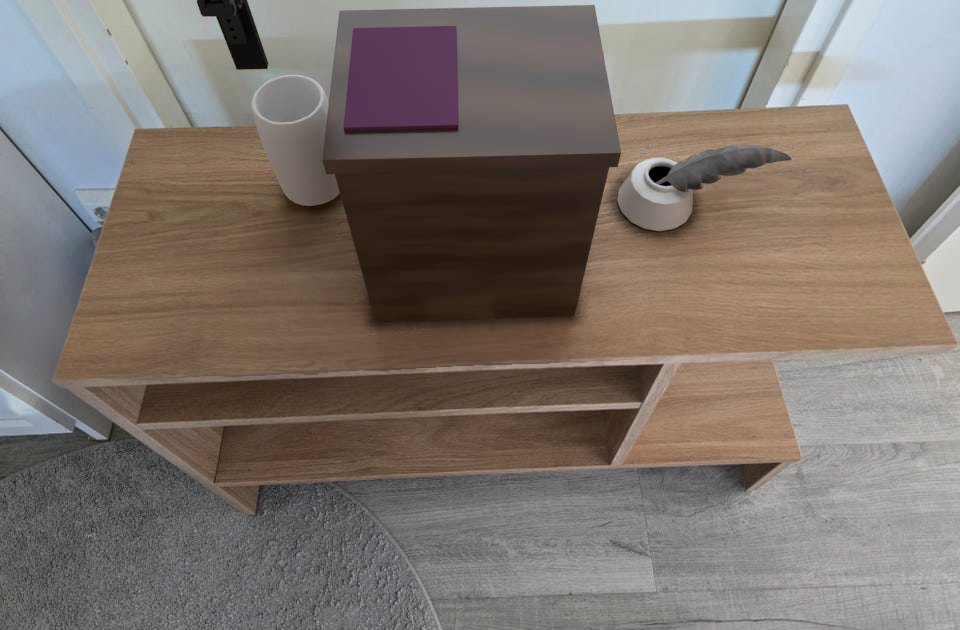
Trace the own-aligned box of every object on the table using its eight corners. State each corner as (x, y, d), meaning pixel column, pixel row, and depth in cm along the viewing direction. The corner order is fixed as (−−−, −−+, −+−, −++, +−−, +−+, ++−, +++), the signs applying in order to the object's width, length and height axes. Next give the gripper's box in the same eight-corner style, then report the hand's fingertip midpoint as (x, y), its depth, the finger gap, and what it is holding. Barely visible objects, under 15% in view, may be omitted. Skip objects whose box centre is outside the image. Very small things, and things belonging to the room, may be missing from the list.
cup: (297, 156, 87) (267, 65, 75) (359, 169, 86) (339, 78, 74) (270, 206, 83) (234, 119, 71) (335, 220, 82) (309, 134, 70)
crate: (579, 320, 75) (621, 153, 52) (370, 326, 75) (322, 160, 52) (564, 193, 84) (594, 4, 61) (378, 198, 84) (339, 10, 61)
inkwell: (613, 173, 85) (628, 112, 77) (756, 174, 85) (787, 113, 77) (620, 232, 81) (636, 175, 72) (772, 233, 81) (806, 175, 72)
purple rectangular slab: (458, 128, 54) (458, 124, 53) (344, 131, 54) (343, 127, 53) (456, 29, 60) (456, 25, 59) (353, 31, 60) (353, 27, 59)
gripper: (194, -167, 39) (287, 111, 58) (255, -336, 52) (315, -63, 70) (64, -165, 39) (198, 113, 58) (156, -335, 52) (243, -61, 70)
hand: (263, 17), depth 64 cm, fingers open, 13 cm apart
